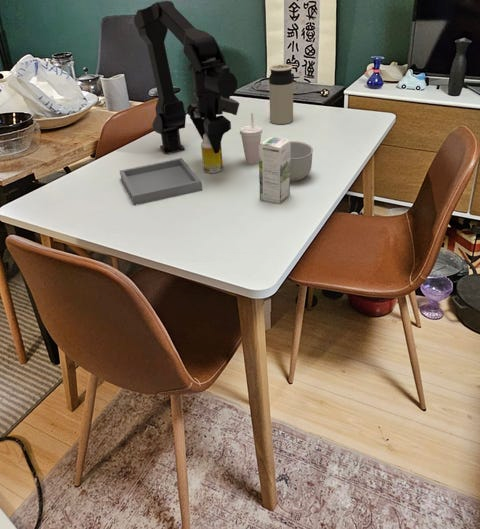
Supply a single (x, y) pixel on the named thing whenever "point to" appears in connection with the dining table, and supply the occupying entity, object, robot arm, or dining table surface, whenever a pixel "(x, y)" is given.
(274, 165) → the syrup box
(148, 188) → the tray
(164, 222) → the dining table surface
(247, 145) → the smoothie
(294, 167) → the teacup
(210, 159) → the supplement bottle
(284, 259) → the dining table surface
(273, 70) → the travel mug
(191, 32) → the robot arm
